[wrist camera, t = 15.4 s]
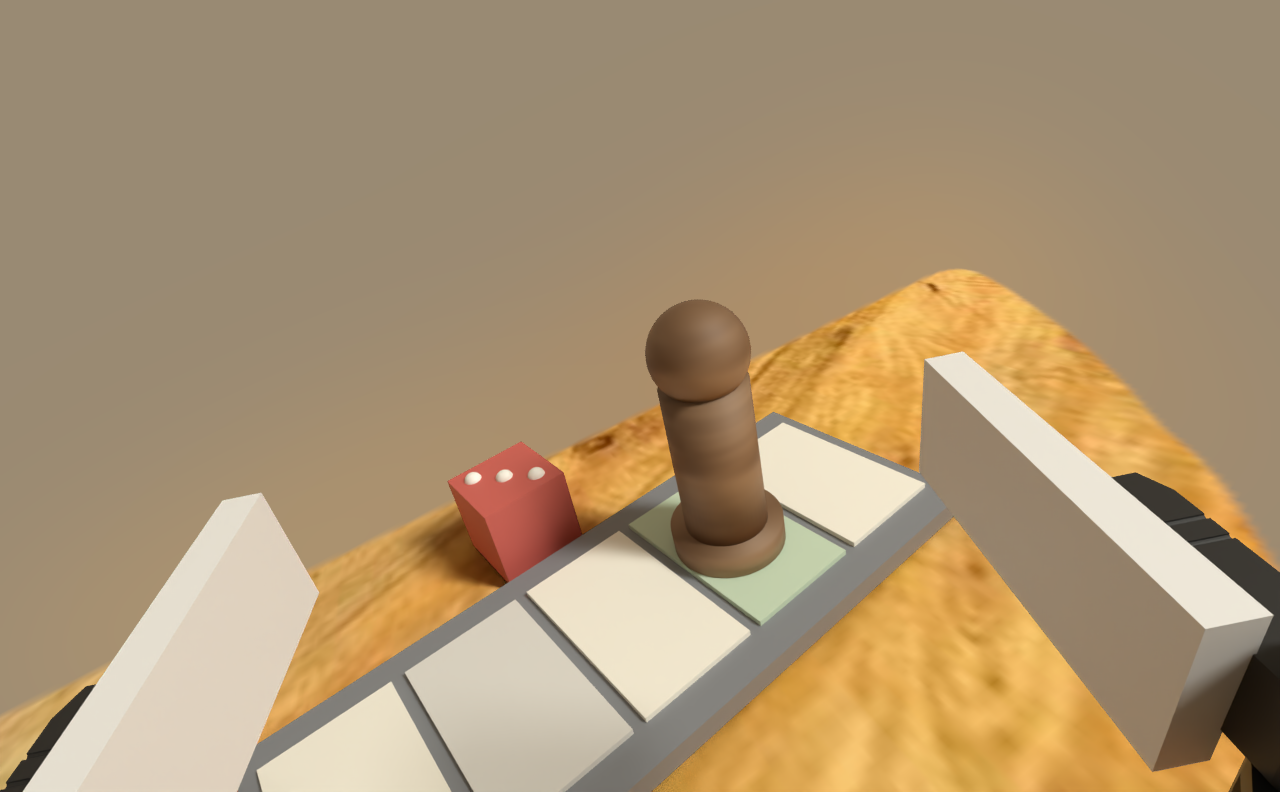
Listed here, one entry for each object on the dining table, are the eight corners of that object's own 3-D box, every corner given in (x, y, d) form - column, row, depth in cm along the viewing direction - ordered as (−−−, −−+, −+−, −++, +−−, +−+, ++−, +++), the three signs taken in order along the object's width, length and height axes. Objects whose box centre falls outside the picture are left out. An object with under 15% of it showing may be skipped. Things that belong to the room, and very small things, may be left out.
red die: (473, 545, 37) (445, 475, 34) (541, 504, 39) (519, 436, 37) (510, 586, 34) (482, 512, 31) (583, 539, 36) (561, 466, 33)
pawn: (652, 541, 33) (597, 316, 27) (730, 488, 35) (695, 270, 29) (727, 597, 29) (681, 347, 23) (809, 532, 31) (786, 291, 25)
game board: (243, 775, 27) (228, 757, 26) (774, 425, 41) (773, 408, 41) (319, 1093, 18) (299, 1076, 18) (962, 507, 32) (964, 487, 32)
